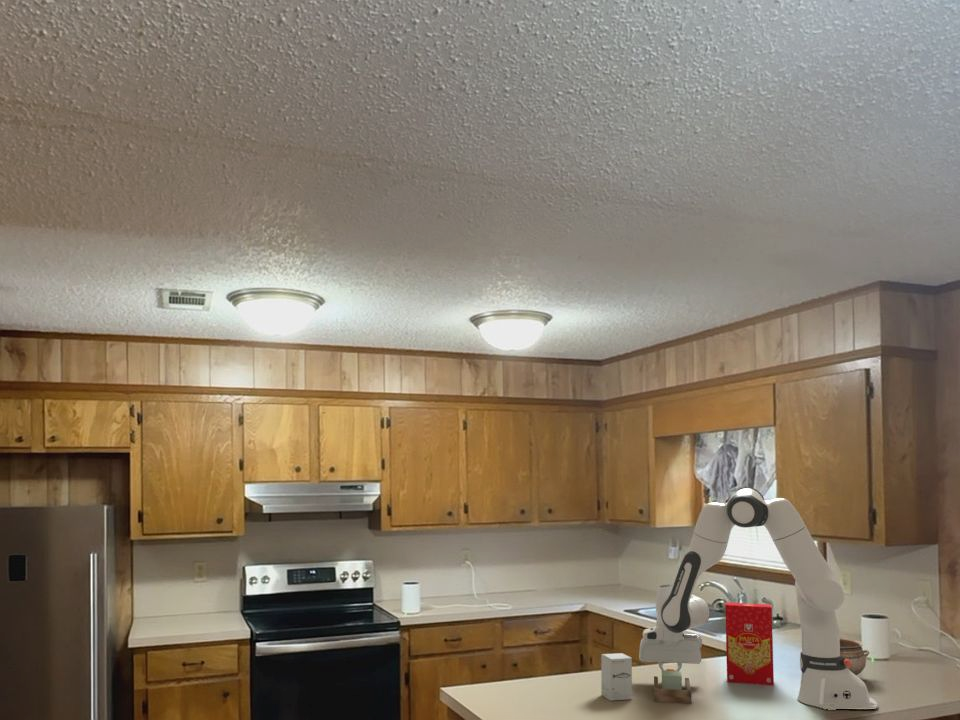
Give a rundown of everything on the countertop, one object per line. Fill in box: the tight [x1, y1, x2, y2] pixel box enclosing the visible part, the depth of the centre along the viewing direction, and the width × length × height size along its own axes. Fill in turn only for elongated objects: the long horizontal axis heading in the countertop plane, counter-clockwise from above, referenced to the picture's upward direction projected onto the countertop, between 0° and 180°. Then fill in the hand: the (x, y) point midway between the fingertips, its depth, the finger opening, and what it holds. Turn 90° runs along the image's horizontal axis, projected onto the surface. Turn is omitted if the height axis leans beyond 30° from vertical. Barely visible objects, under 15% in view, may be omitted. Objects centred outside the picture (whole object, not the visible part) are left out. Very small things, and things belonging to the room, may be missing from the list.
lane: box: [653, 676, 692, 704], centre depth 278 cm, size 11×16×4 cm
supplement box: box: [600, 652, 633, 702], centre depth 275 cm, size 7×7×13 cm
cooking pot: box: [839, 636, 870, 676], centre depth 299 cm, size 25×19×12 cm
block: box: [661, 667, 683, 690], centre depth 286 cm, size 6×17×6 cm, turn 170°
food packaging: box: [725, 601, 775, 687], centre depth 295 cm, size 15×5×25 cm, turn 73°
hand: (670, 676), depth 293 cm, fingers closed on block, 2 cm apart
